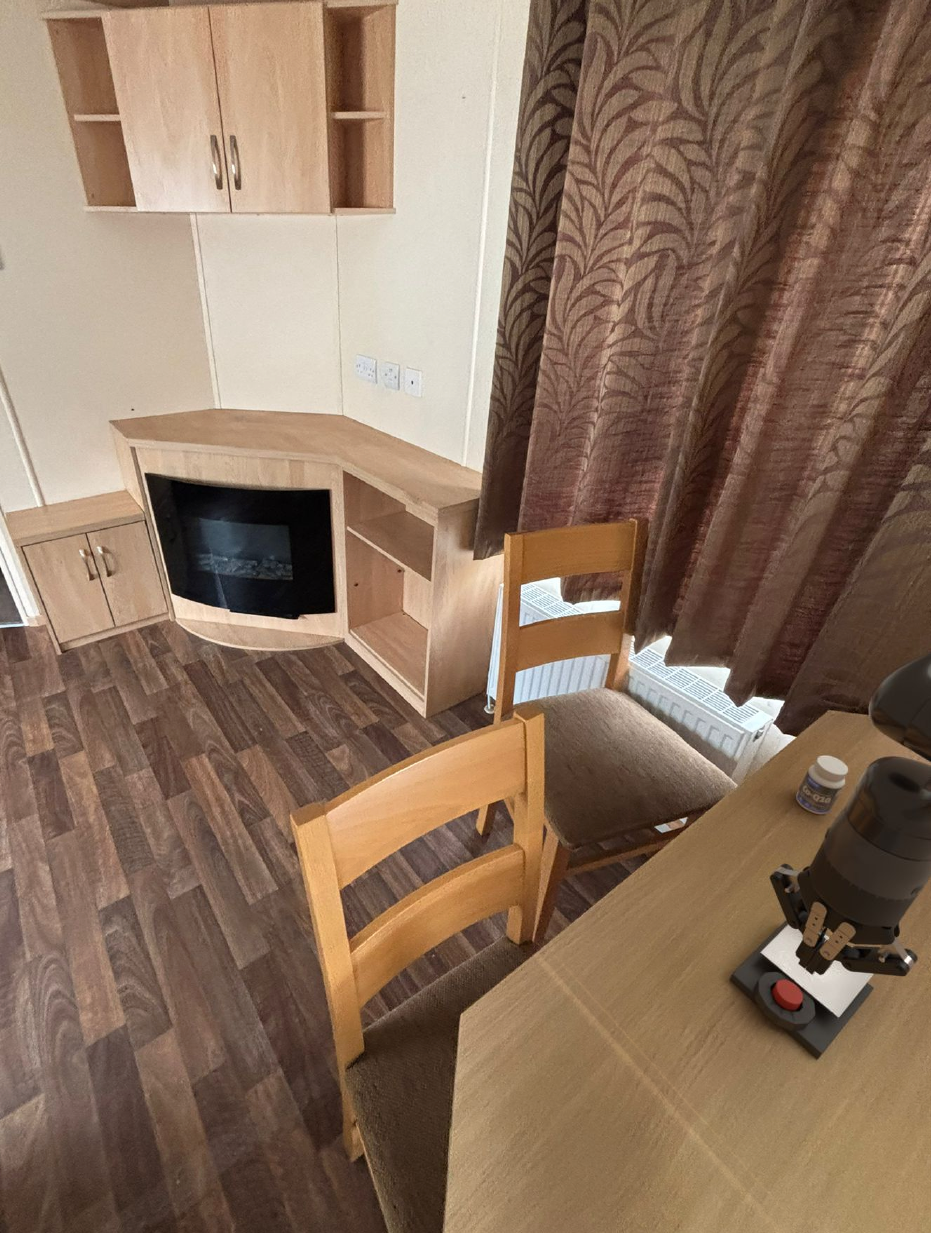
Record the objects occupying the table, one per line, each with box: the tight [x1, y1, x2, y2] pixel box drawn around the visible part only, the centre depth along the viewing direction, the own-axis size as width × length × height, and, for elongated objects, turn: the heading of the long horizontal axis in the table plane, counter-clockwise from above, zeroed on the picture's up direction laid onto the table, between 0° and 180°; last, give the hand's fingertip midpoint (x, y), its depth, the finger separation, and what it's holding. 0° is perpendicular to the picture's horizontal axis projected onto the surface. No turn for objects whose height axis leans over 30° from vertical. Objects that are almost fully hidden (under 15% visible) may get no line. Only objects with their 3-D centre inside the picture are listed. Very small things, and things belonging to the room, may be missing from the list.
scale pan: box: [760, 924, 875, 1019], centre depth 71 cm, size 9×9×1 cm
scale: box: [729, 920, 875, 1060], centre depth 70 cm, size 13×10×3 cm
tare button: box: [772, 980, 803, 1011], centre depth 68 cm, size 3×3×1 cm
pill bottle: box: [795, 755, 849, 815], centre depth 93 cm, size 5×5×8 cm
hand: (808, 964), depth 65 cm, fingers closed
